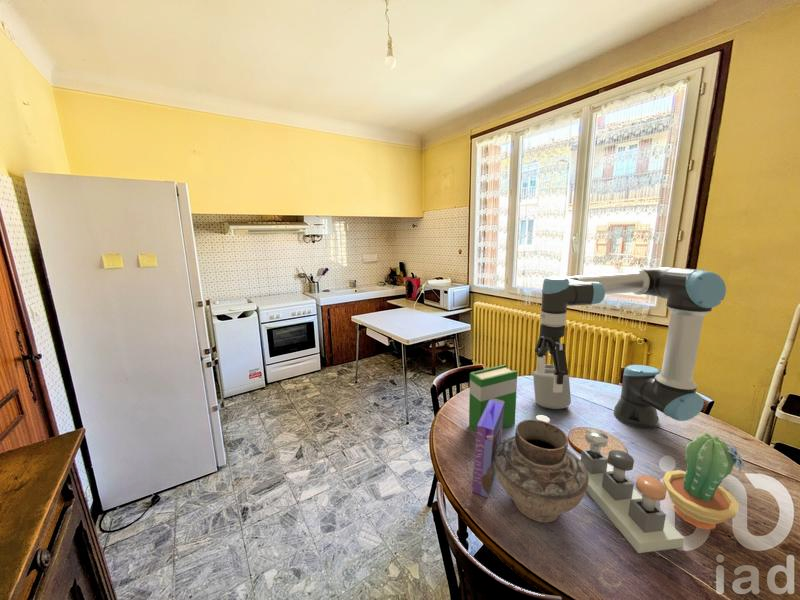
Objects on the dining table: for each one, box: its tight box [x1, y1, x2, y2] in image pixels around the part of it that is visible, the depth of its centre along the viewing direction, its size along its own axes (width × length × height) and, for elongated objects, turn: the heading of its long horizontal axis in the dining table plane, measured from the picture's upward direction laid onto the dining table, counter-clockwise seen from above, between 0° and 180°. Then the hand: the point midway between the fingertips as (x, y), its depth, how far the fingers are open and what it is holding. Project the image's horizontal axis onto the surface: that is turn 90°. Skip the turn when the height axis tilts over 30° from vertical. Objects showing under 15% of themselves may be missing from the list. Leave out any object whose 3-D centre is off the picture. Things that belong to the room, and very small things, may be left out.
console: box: [577, 448, 685, 554], centre depth 93 cm, size 12×30×8 cm, turn 5°
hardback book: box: [468, 364, 518, 433], centre depth 129 cm, size 18×7×24 cm, turn 112°
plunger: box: [584, 428, 609, 457], centre depth 101 cm, size 6×6×7 cm
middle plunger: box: [607, 449, 635, 481], centre depth 91 cm, size 6×6×7 cm
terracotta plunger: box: [635, 474, 668, 512], centre depth 81 cm, size 6×6×7 cm
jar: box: [532, 353, 572, 410], centre depth 143 cm, size 19×15×25 cm
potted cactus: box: [662, 433, 746, 531], centre depth 85 cm, size 15×15×25 cm
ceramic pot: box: [493, 419, 589, 523], centre depth 91 cm, size 25×25×24 cm
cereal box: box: [472, 398, 505, 499], centre depth 102 cm, size 17×5×24 cm, turn 152°
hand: (548, 382), depth 109 cm, fingers open, 13 cm apart
